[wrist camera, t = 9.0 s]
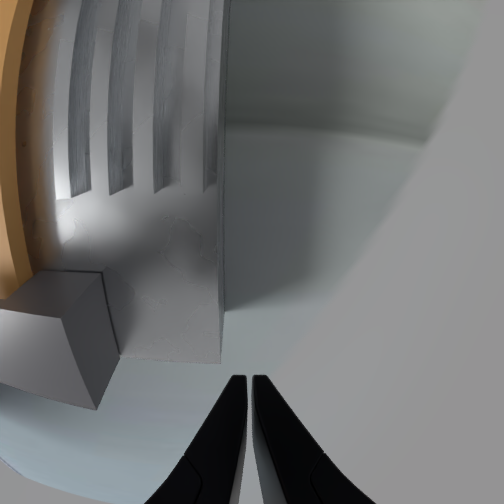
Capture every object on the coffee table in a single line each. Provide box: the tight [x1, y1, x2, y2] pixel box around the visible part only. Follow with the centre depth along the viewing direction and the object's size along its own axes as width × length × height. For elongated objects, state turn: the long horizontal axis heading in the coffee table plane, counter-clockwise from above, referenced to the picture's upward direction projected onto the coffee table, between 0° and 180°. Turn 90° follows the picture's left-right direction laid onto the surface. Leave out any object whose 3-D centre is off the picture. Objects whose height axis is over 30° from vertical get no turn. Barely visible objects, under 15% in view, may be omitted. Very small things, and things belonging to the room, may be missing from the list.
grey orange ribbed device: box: [15, 0, 230, 364], centre depth 8 cm, size 20×14×7 cm
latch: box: [0, 270, 120, 410], centre depth 9 cm, size 4×6×3 cm, turn 88°
